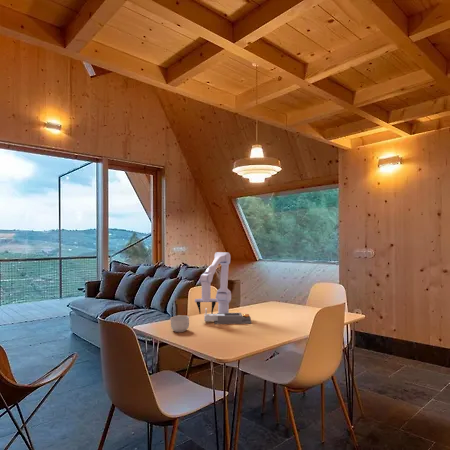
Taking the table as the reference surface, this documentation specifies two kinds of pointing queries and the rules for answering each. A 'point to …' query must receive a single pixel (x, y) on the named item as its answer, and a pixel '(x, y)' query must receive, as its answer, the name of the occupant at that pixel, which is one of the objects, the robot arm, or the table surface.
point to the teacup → (179, 323)
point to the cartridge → (211, 316)
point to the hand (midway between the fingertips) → (206, 313)
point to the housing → (233, 319)
